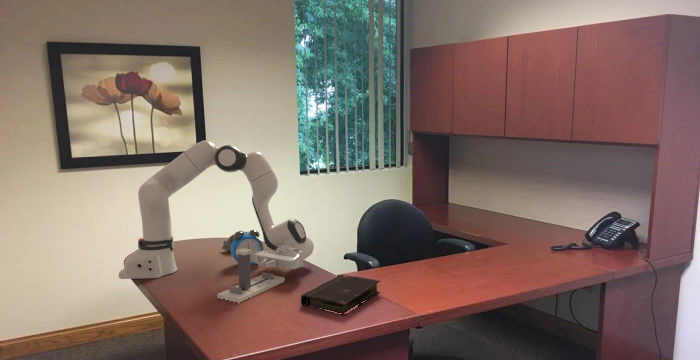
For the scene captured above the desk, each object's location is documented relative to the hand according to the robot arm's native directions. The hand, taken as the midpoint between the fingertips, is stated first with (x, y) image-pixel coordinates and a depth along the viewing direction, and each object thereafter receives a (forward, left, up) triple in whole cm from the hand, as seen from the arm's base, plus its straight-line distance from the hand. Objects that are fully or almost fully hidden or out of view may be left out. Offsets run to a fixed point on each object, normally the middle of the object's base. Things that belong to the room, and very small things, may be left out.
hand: (263, 265), depth 189 cm
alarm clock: (-5, +28, -8) cm, 29 cm away
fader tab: (-8, -7, -6) cm, 12 cm away
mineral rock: (-7, +50, -8) cm, 51 cm away
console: (-5, -4, -8) cm, 10 cm away
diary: (+25, -23, -8) cm, 35 cm away
